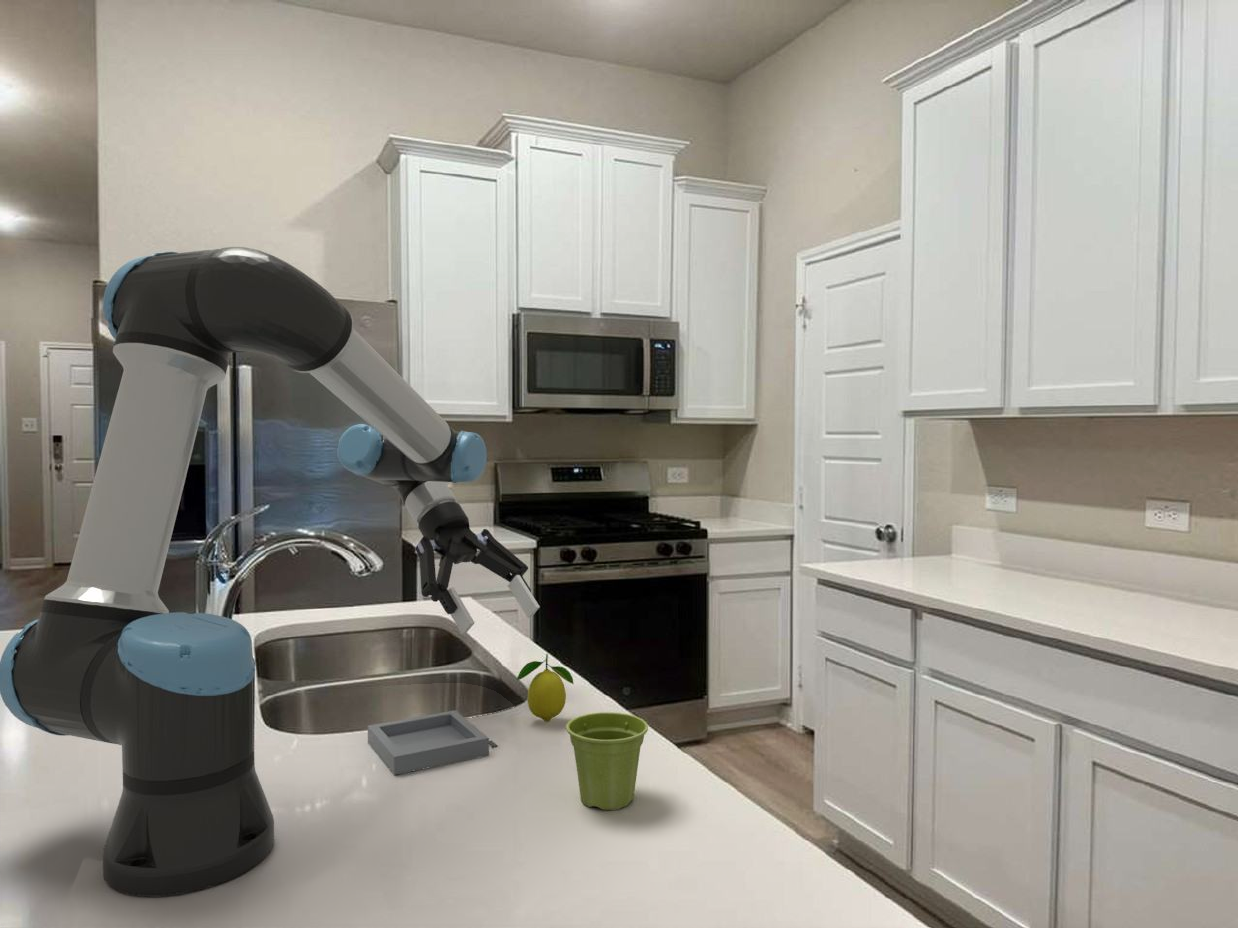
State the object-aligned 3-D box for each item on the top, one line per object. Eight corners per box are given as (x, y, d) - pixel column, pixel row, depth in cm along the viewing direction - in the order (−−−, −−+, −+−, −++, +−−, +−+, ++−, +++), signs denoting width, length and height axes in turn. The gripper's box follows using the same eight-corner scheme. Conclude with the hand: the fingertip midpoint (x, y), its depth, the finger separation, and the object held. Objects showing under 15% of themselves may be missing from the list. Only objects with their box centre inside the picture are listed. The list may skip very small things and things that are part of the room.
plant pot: (554, 789, 99) (555, 717, 98) (627, 776, 103) (628, 707, 102) (583, 824, 90) (583, 745, 90) (661, 808, 94) (662, 733, 94)
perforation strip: (497, 746, 112) (497, 744, 112) (492, 747, 112) (492, 745, 112) (472, 725, 120) (472, 724, 120) (468, 726, 119) (468, 725, 119)
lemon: (516, 726, 119) (516, 657, 119) (532, 713, 125) (532, 647, 125) (560, 731, 117) (560, 661, 117) (574, 718, 123) (574, 651, 123)
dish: (488, 755, 109) (488, 737, 109) (394, 775, 102) (394, 756, 102) (455, 725, 120) (455, 710, 119) (367, 742, 113) (367, 725, 113)
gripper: (484, 522, 147) (546, 620, 138) (362, 537, 127) (425, 651, 119) (505, 494, 143) (570, 592, 135) (383, 504, 124) (449, 620, 115)
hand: (502, 620), depth 127 cm, fingers open, 13 cm apart
